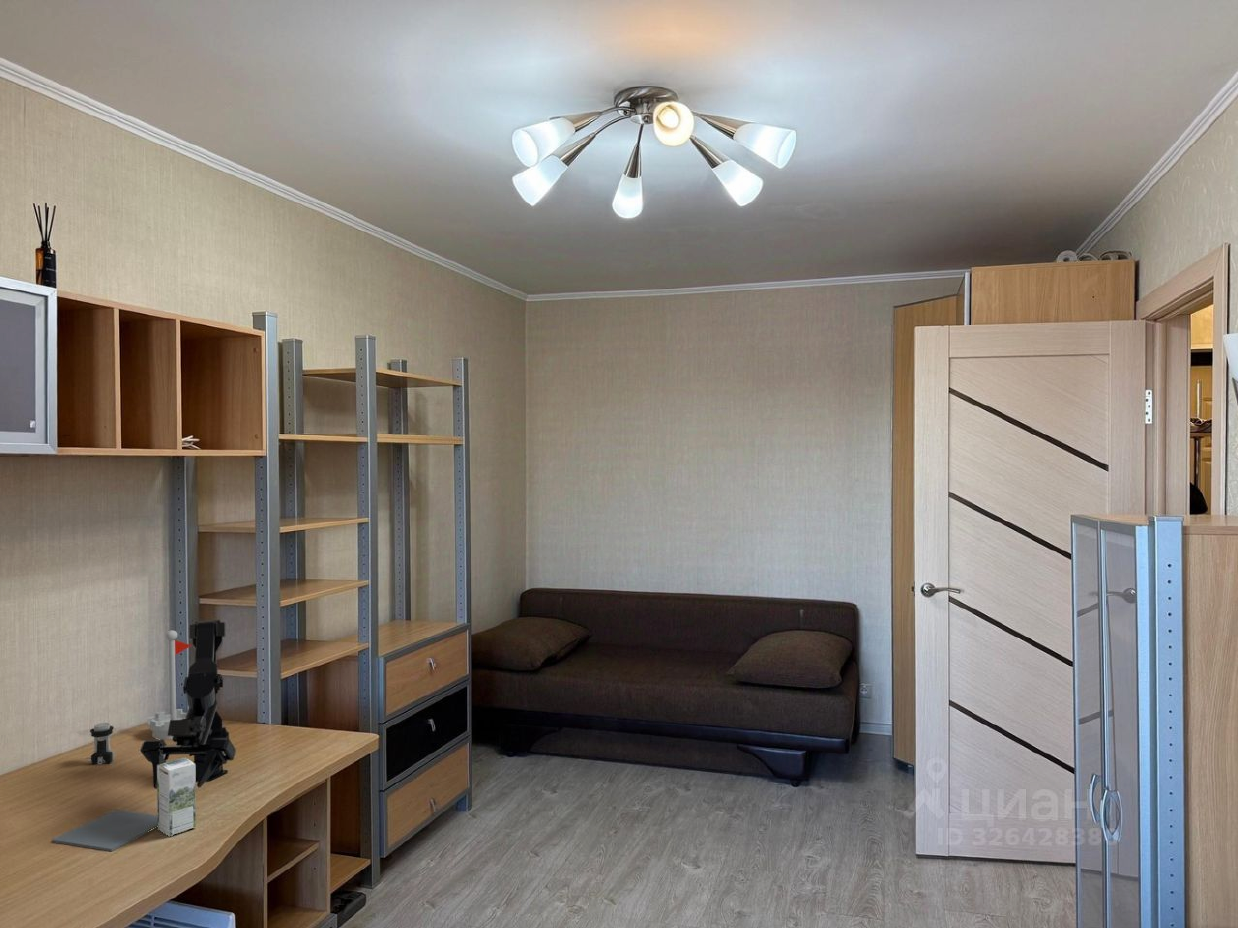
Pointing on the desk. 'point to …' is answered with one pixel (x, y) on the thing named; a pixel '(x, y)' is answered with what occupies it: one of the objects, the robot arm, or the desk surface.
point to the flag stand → (161, 720)
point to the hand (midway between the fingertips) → (176, 787)
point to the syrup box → (176, 796)
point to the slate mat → (110, 830)
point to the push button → (101, 744)
